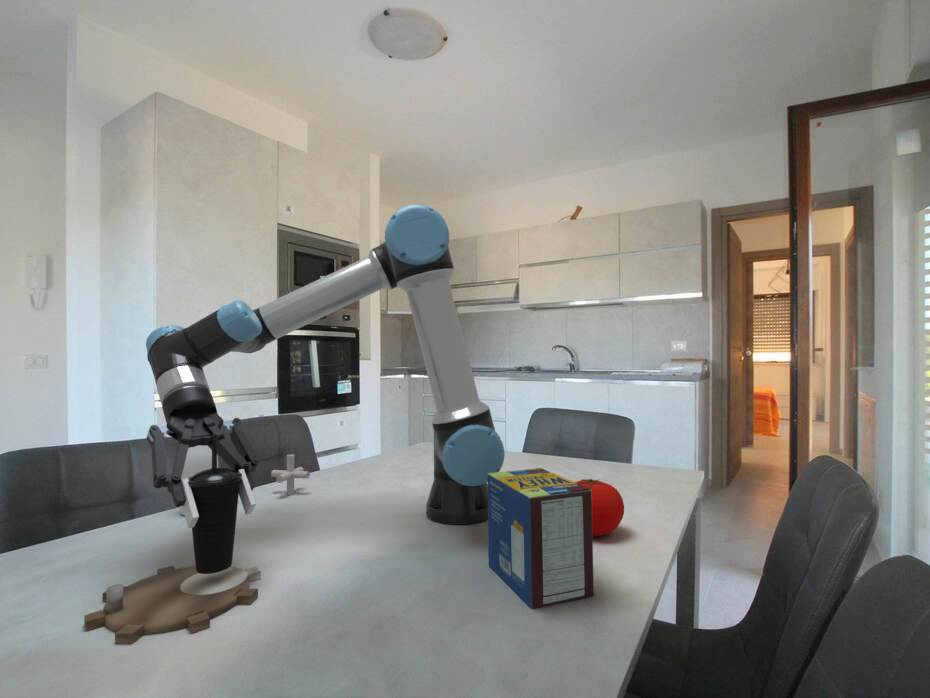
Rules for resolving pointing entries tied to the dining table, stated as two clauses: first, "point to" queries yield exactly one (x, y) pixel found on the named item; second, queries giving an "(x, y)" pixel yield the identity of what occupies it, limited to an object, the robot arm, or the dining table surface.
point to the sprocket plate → (172, 601)
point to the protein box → (541, 535)
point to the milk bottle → (196, 462)
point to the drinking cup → (214, 515)
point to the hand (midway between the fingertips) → (223, 515)
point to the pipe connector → (290, 474)
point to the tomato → (604, 506)
